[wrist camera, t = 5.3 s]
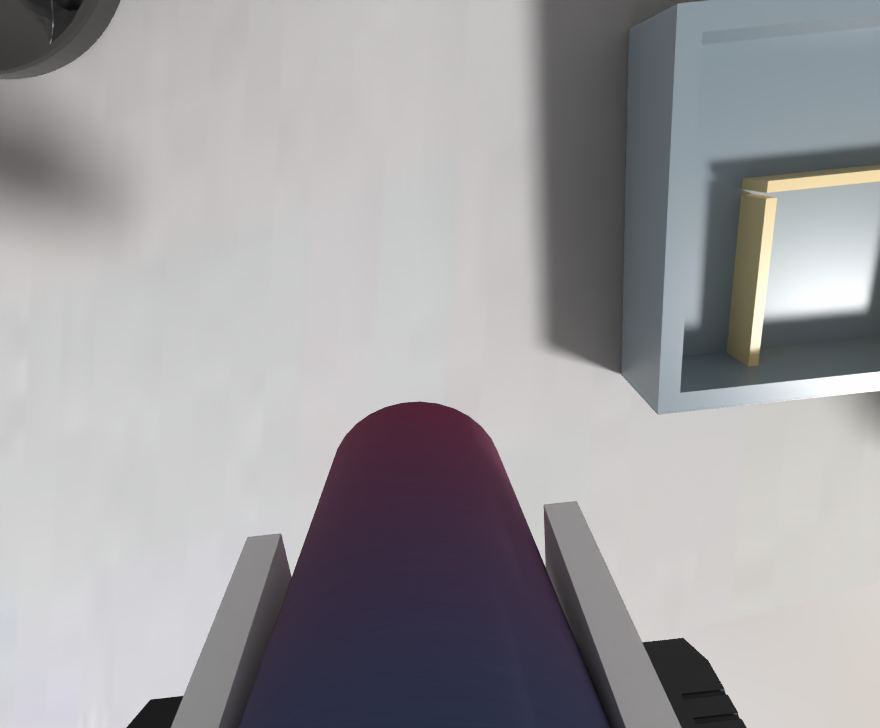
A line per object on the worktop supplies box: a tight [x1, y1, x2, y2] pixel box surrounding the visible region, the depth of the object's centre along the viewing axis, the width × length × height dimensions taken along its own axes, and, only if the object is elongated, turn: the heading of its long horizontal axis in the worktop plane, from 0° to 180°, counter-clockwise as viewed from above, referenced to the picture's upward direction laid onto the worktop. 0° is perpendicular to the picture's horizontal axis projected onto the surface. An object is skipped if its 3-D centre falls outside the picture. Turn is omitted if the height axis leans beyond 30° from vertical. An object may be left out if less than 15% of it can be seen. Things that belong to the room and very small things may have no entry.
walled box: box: [621, 0, 880, 414], centre depth 32 cm, size 20×24×6 cm
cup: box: [238, 402, 611, 728], centre depth 10 cm, size 7×7×15 cm
